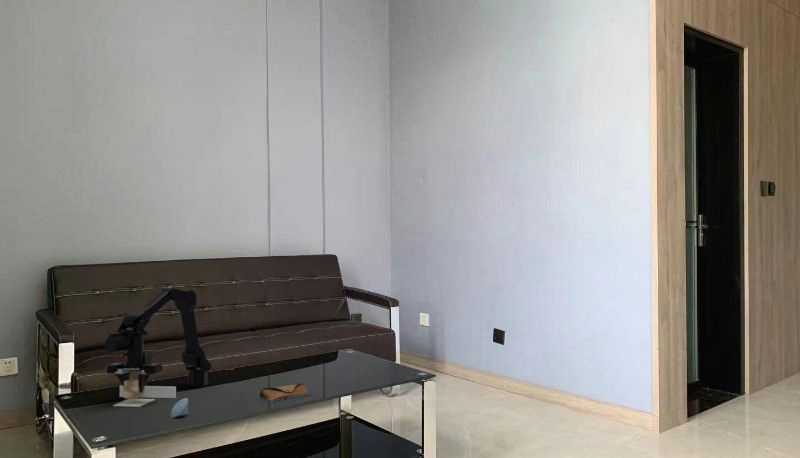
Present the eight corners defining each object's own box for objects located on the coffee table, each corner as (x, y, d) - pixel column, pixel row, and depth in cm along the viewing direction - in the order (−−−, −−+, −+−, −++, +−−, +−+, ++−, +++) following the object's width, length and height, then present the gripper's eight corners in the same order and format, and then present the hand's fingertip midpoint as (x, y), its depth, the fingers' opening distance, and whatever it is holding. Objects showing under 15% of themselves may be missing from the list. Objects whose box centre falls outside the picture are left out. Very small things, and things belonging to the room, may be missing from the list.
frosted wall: (175, 397, 230) (175, 386, 231) (174, 398, 230) (174, 387, 230) (120, 396, 233) (120, 385, 234) (119, 396, 233) (119, 386, 233)
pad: (154, 400, 227) (154, 399, 227) (139, 406, 217) (139, 405, 217) (129, 399, 228) (129, 398, 228) (113, 406, 218) (113, 405, 218)
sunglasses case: (269, 402, 221) (265, 384, 224) (262, 409, 226) (258, 391, 229) (313, 394, 232) (309, 378, 235) (306, 401, 237) (302, 385, 240)
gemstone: (194, 401, 210) (183, 393, 208) (198, 409, 204) (187, 400, 202) (177, 419, 208) (166, 410, 206) (181, 428, 202) (169, 419, 200)
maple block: (144, 395, 225) (144, 378, 225) (136, 398, 220) (137, 381, 220) (131, 394, 226) (131, 378, 226) (123, 398, 221) (123, 381, 221)
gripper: (170, 345, 230) (169, 388, 230) (123, 345, 233) (123, 387, 232) (154, 350, 219) (154, 394, 219) (105, 349, 222) (105, 393, 221)
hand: (134, 392), depth 223 cm, fingers closed on maple block, 5 cm apart
